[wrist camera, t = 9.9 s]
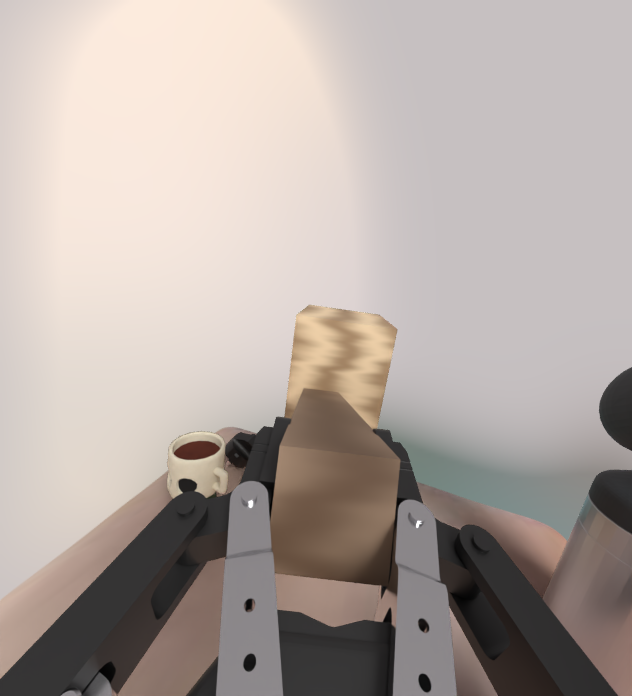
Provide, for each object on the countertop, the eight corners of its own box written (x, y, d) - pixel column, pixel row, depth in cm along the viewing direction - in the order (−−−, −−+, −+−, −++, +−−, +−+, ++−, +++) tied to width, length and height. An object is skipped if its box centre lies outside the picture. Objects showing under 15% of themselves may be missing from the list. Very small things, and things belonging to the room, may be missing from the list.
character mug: (147, 522, 40) (146, 441, 37) (190, 492, 46) (192, 421, 43) (201, 565, 35) (205, 477, 32) (240, 525, 41) (247, 448, 38)
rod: (334, 427, 32) (338, 392, 32) (388, 586, 9) (400, 459, 9) (299, 423, 32) (303, 387, 32) (263, 571, 9) (279, 445, 9)
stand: (348, 476, 55) (379, 314, 47) (352, 546, 40) (397, 329, 33) (288, 466, 56) (309, 304, 48) (271, 531, 41) (296, 314, 33)
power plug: (281, 485, 49) (234, 435, 50) (255, 506, 52) (211, 458, 52) (292, 466, 54) (249, 421, 55) (268, 486, 57) (228, 443, 58)
